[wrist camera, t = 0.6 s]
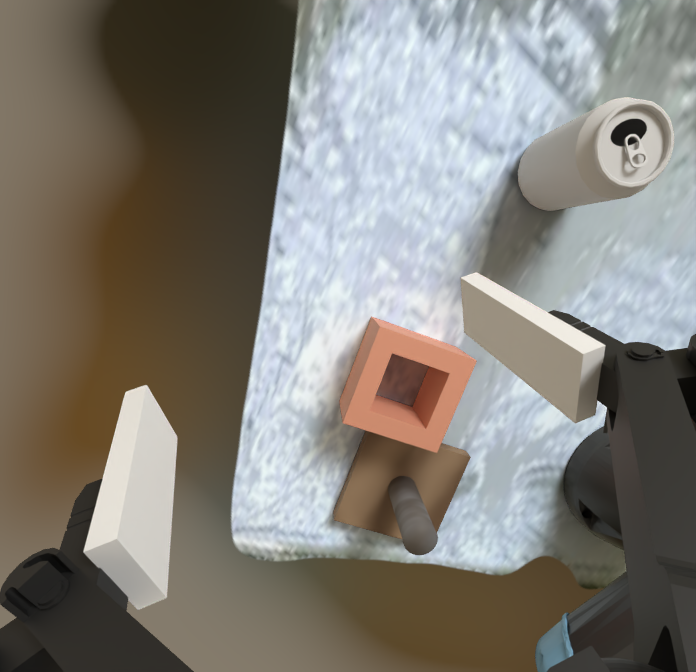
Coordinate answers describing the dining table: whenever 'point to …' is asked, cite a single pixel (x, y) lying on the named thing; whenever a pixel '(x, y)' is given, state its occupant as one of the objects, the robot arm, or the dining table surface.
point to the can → (598, 156)
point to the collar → (432, 399)
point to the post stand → (400, 490)
